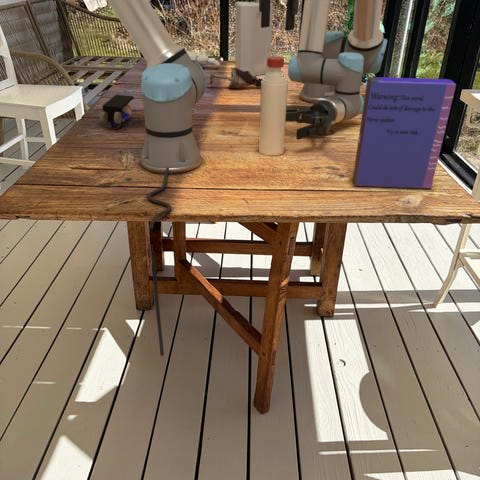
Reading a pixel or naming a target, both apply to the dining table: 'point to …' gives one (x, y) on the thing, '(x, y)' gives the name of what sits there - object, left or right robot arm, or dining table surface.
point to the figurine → (239, 79)
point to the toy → (202, 59)
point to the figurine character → (116, 110)
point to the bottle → (273, 112)
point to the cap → (275, 62)
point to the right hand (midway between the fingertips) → (278, 128)
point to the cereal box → (402, 131)
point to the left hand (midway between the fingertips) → (277, 28)
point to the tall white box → (252, 39)
